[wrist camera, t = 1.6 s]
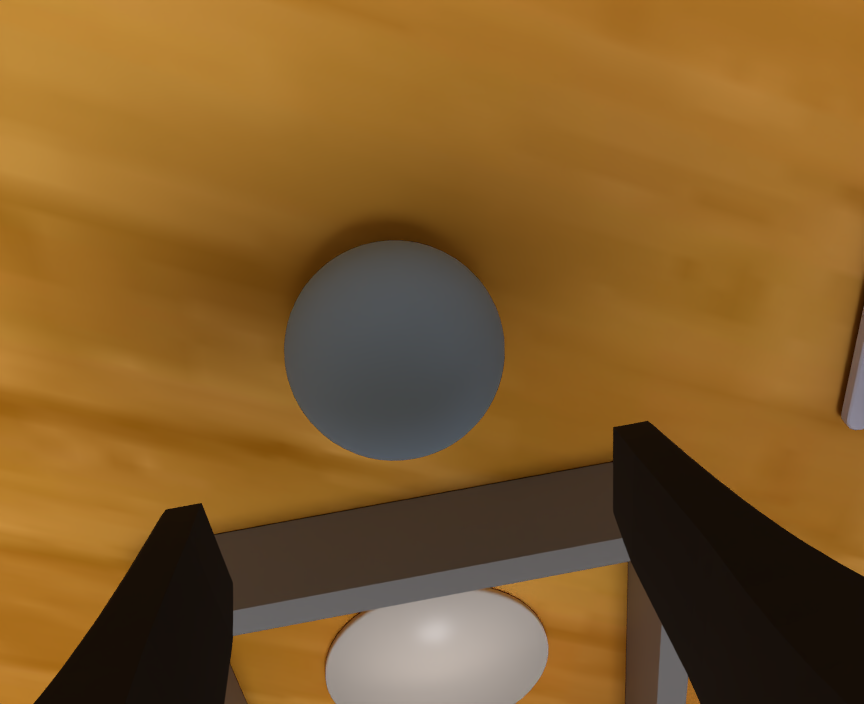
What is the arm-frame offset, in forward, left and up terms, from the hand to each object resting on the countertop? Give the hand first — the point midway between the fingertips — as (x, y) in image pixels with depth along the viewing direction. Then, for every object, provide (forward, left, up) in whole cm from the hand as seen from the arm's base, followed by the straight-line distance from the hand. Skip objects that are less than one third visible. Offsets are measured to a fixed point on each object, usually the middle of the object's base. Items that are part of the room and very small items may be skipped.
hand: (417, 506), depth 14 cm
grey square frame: (0, +15, -8) cm, 17 cm away
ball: (0, 0, -5) cm, 5 cm away
